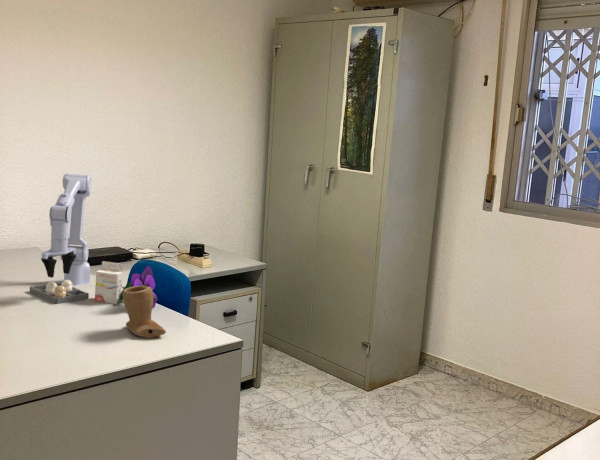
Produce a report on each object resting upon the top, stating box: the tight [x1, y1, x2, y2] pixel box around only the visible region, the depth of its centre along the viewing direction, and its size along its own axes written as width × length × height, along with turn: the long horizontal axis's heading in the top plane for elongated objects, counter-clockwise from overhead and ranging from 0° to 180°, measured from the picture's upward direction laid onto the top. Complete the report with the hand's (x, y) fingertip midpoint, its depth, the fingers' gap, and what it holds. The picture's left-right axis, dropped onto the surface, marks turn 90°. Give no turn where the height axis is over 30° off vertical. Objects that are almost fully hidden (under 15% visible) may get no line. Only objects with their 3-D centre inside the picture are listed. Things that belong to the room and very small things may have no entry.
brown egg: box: [54, 286, 66, 298], centre depth 236 cm, size 4×4×6 cm
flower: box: [119, 266, 158, 308], centre depth 239 cm, size 15×15×14 cm
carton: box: [29, 281, 90, 305], centre depth 243 cm, size 13×19×2 cm
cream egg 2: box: [61, 279, 73, 291], centre depth 245 cm, size 4×4×6 cm
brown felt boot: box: [122, 286, 167, 339], centre depth 211 cm, size 15×12×15 cm
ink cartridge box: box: [94, 260, 124, 306], centre depth 241 cm, size 9×5×15 cm, turn 82°
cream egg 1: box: [46, 281, 57, 294], centre depth 240 cm, size 4×4×6 cm
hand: (58, 275), depth 237 cm, fingers open, 7 cm apart
